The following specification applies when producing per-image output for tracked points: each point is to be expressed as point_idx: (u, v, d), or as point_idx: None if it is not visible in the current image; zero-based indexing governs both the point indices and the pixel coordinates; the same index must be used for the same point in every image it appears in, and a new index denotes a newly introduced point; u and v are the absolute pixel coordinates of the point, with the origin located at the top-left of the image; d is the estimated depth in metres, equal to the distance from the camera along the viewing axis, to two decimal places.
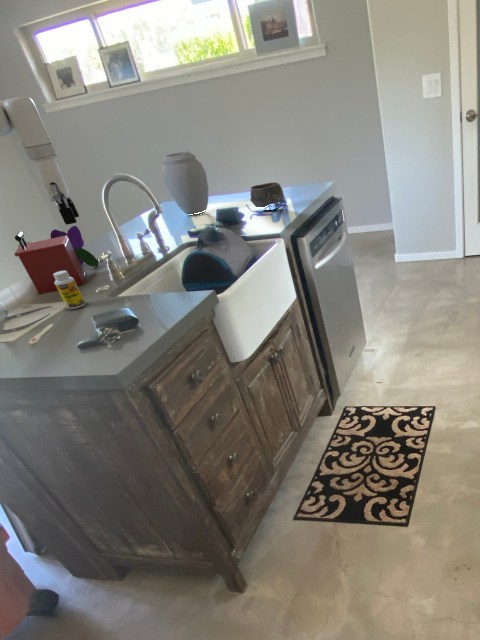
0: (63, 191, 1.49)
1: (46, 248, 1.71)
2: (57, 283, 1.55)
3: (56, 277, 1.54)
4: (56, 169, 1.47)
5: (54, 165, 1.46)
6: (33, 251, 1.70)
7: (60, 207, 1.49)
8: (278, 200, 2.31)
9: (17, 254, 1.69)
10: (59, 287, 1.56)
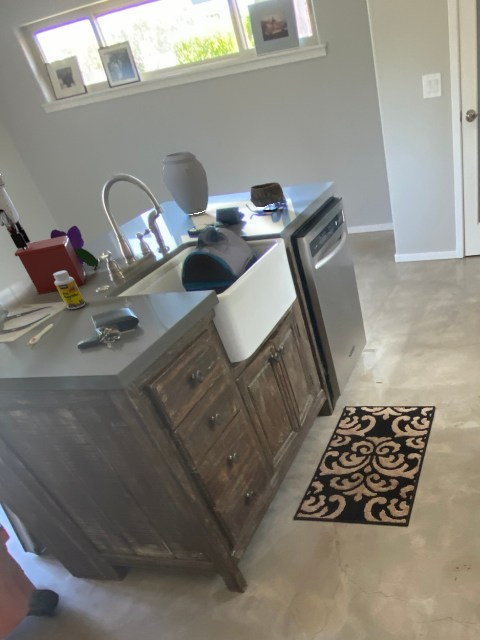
0: (11, 217, 1.64)
1: (46, 248, 1.71)
2: (57, 283, 1.55)
3: (56, 277, 1.54)
4: (4, 197, 1.62)
5: (2, 193, 1.62)
6: (33, 251, 1.70)
7: (11, 234, 1.67)
8: (278, 200, 2.31)
9: (17, 254, 1.69)
10: (59, 287, 1.56)
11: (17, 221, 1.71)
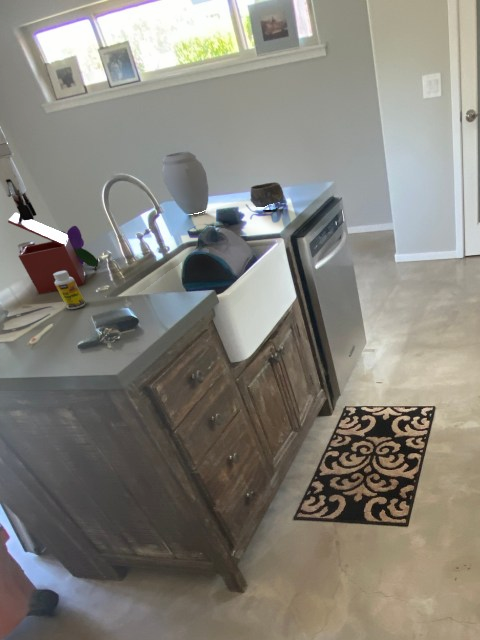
0: (18, 187, 1.61)
1: (44, 236, 1.69)
2: (57, 283, 1.55)
3: (56, 277, 1.54)
4: (12, 167, 1.59)
5: (10, 163, 1.58)
6: (29, 230, 1.66)
7: (18, 205, 1.63)
8: (278, 200, 2.31)
9: (11, 222, 1.64)
10: (59, 287, 1.56)
11: (24, 193, 1.68)
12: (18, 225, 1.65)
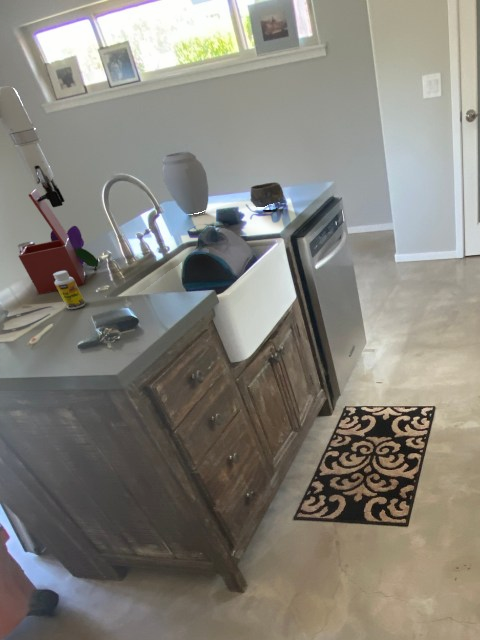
0: (47, 173, 1.61)
1: (52, 227, 1.68)
2: (57, 283, 1.55)
3: (56, 277, 1.54)
4: (39, 153, 1.59)
5: (37, 149, 1.59)
6: (42, 214, 1.65)
7: (47, 192, 1.64)
8: (278, 200, 2.31)
9: (31, 197, 1.62)
10: (59, 287, 1.56)
11: (52, 179, 1.68)
12: (35, 203, 1.63)
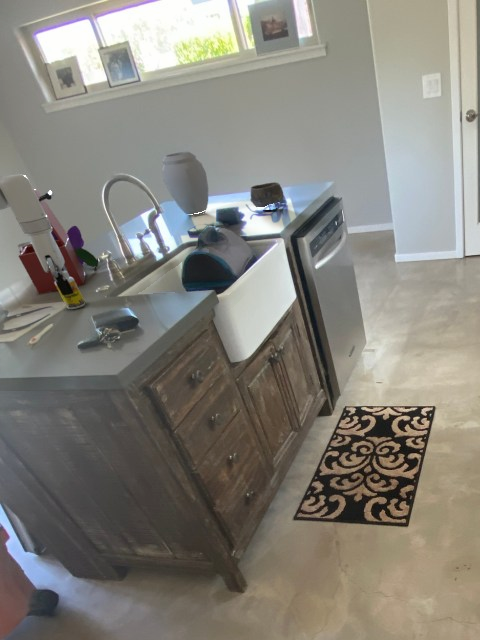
0: (58, 263, 1.50)
1: (52, 227, 1.68)
2: None
3: None
4: (51, 242, 1.48)
5: (49, 238, 1.47)
6: None
7: (58, 281, 1.53)
8: (278, 200, 2.31)
9: None
10: None
11: (62, 265, 1.57)
12: None
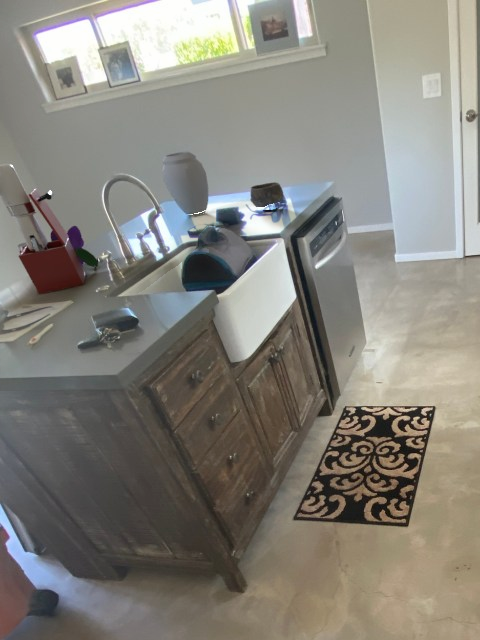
0: (41, 242, 1.71)
1: (52, 227, 1.68)
2: None
3: None
4: (34, 223, 1.69)
5: (33, 220, 1.68)
6: (42, 214, 1.65)
7: None
8: (278, 200, 2.31)
9: (31, 197, 1.62)
10: None
11: (45, 245, 1.78)
12: (36, 203, 1.63)
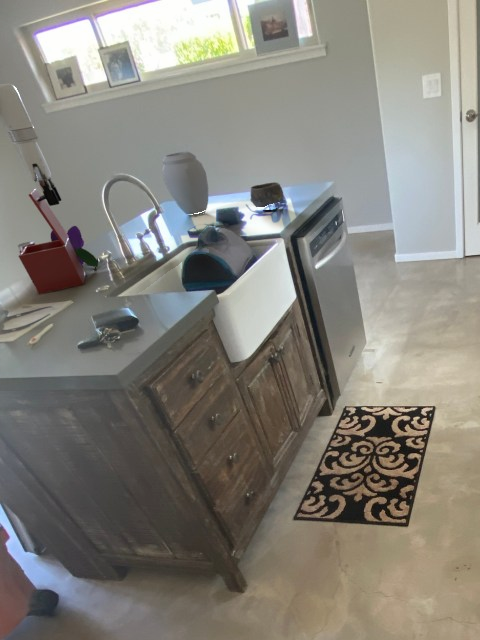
0: (44, 172, 1.61)
1: (52, 227, 1.68)
2: None
3: None
4: (38, 151, 1.59)
5: (36, 147, 1.58)
6: (42, 214, 1.65)
7: (44, 190, 1.63)
8: (278, 200, 2.31)
9: (31, 197, 1.62)
10: None
11: (49, 178, 1.68)
12: (36, 203, 1.63)
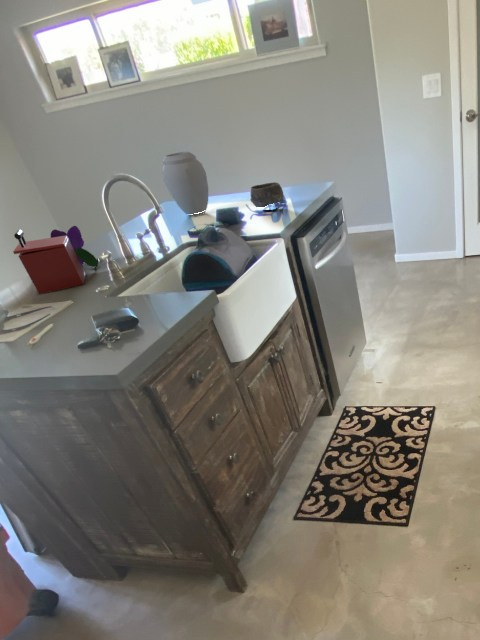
0: None
1: (46, 247, 1.71)
2: None
3: None
4: None
5: None
6: (32, 250, 1.70)
7: None
8: (278, 200, 2.31)
9: (16, 252, 1.68)
10: None
11: None
12: (22, 251, 1.69)
